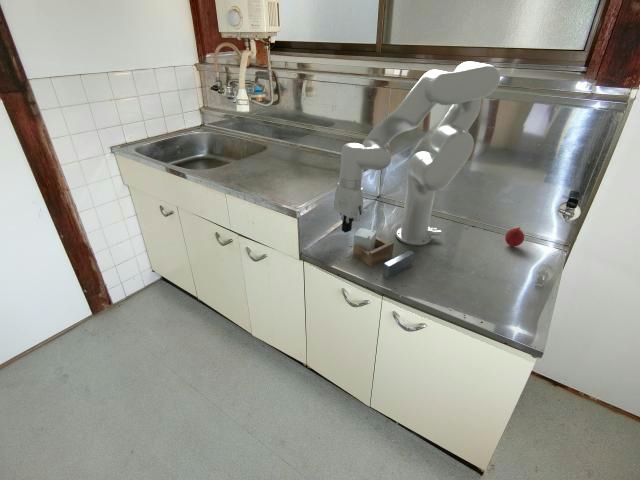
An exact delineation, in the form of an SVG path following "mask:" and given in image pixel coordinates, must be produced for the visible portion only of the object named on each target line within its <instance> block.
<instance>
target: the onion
mask: <svg viewBox="0 0 640 480" xmlns="http://www.w3.org/2000/svg"><path fill="white" fill-rule="evenodd" d="M504 239H505V242H506V244H507V245H509V246H510V247H511V248H514V247H518V246H520V245H521V244H522V243H523V242H524V241H525V234H524V232H523V231H522V230H521V227H520V226H516V227H515V228H511V229H510V230H508V231H507V232H506V233H505V236H504Z"/></svg>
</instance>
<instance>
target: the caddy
mask: <svg viewBox="0 0 640 480" xmlns="http://www.w3.org/2000/svg"><path fill="white" fill-rule="evenodd" d="M353 246H354V252H353V251H352V253H353V257H354V258H356V259H358V260H359V261H361V262H362V263H364V264H366V265H368V266H369V267H373V266H375V265H377V264H379V263H380V262H383V261H384V260H385V261H386V259H389V258H391V257H393V254H394V242H393V241H390V242H388V241H386V240H384V239H382V238H380V237H379V236H376V242H375V249H374V250H372V251H370V252H368V251H367V250H365V249H363V248H361V247H360V246H358V245H354V244H353Z"/></svg>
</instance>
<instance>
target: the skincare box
mask: <svg viewBox="0 0 640 480" xmlns="http://www.w3.org/2000/svg"><path fill="white" fill-rule="evenodd" d="M376 237H377V230H372V229H368V228H364V227H359V229H357V231H356V233H355V234H354V236H353V248H352V253H353V252H354V245H358V246H360V247H361V248H363V249H365V250H367V251H368V252H370V251H372V250H375V242H376Z"/></svg>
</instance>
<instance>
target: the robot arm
mask: <svg viewBox="0 0 640 480" xmlns="http://www.w3.org/2000/svg"><path fill="white" fill-rule="evenodd" d="M500 80H501V75H500V71H499V70H498V68H497V67H495V66H494V65H491V64H489V63H488V64H487V63H480V62H476V61H464V62H462V63H461V64H459V65H457V67H456V68H455V69H454V71H452V72H451V71H449V72H448V71H444V70H440V69H431V70H429V71H427V72H425V73H424V74H423V75H422V76H421V77H420V79H419V80H418V81H417V83H416V84H415V85H414V86H413V87H412V88H411V90H410V91H409V92H408V94H407V95H406V96H405V98H404V99H403V100H402V101H401V102H400V104H399V105H398V106H397V108H395V110H394V111H392V112H391V113H389V114H388V115H387V116H386V117H384V118H383V119H382V120H381V121H379V122H378V123H376V125H375V126H374V127H373V128H372V129H371V131H370V132H369V133H368V135H366V137H365V139H364V140H363V141H362V144H361V143H357V142H348V143H345V144H343V145H342V147H341V154H340V156H341V157H340V166H339V167H340V170H339V174H338V175H339V176H338V178H339V179H338V180H339V182H338V183H337V184H336V188H335V193H334V201H333V209H334V210H335V211H336V212H338V213H339V214H340V220H341V221H342V223H341V231H342V232H344V233H348V232H351V231H352V225H353V222H359V221H360V220H361V216H362V214H363V209H364V208H363V207H364V189H363V179H364V178H363V177H364V170H365V169H367V170H373V171H382V170H385V169H387V168H388V167H389V166H390V165H391V162H392V154H391V152H390V151H389V149H388V148H387V145H388V144H389V143H390V142H391V141H392V140H393V139H394V138H395V137H396V136H398V135H400V134H401V133H405V132H408V131H411V130H414V129H416V128H418V127H419V126H420V125H421V123H422V122H423V121H424V120H425V118H426V117H427V116H428V114H430V112H431V111H432V110H433V109H434V108H435V106H436V105H440V106H450V108H449V110H448V111H447V113H446V114H445V115H444V117H443V118H442V120H441V121H440V122H439V124H438V125H437V126H436V128H435V130H433V132H432V133H431V136H430V138H429V143H430V147H431V148H432V149H433V150H434V151H435V152H437V154H435V155H434V154H433V153H431V152H429V151H425V150H424V151H423V150H422V151H419V152H416V153H414V154H413V155H412V156H411V157H410V158H409V160H408V162H407V168H406V180H407V181H406V193H405V198H404V199H405V200H404V206H403V213H402V221H401V227H400V228H398V229H397V231H396V234H395V236H396V239H397V240H399V241H400V242H402V243H404V244H406V245H410V246H424V245H427V244H429V243H430V242H431V241H432V237H433V236H435V237H436V236H437V237H441V236H442V234H443V233H442V230H438V228H437V227H431V226H430V223H431V215H432V211H433V207H434V206H433V205H434V200H435V193H436V192H439V191H442V190H443V189H444V188H446V187H447V186H448V185H449V184H450V183H451V182H452V180H453V179H454V178H455V176H456V175H457V174H458V172H459V171H461V169H462V167H463V166H464V165H465V164H466V163H467V161H468V160H469V158H470V157H471V155H472V153H473V150H474V146H475V141H474V137H473V135H472V134H471V133H470V132H469V129H470V128H471V127H472V125H473V124H474V122H475V121H476V119H477V118H478V117H479V114H480V111H481V106H482V99H483V98H484V99H485V98H486V97H488V96H490V95H492V94H493V93H494V92H495V91H496V90H497V89H498V87H499V84H500V82H501V81H500Z"/></svg>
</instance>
